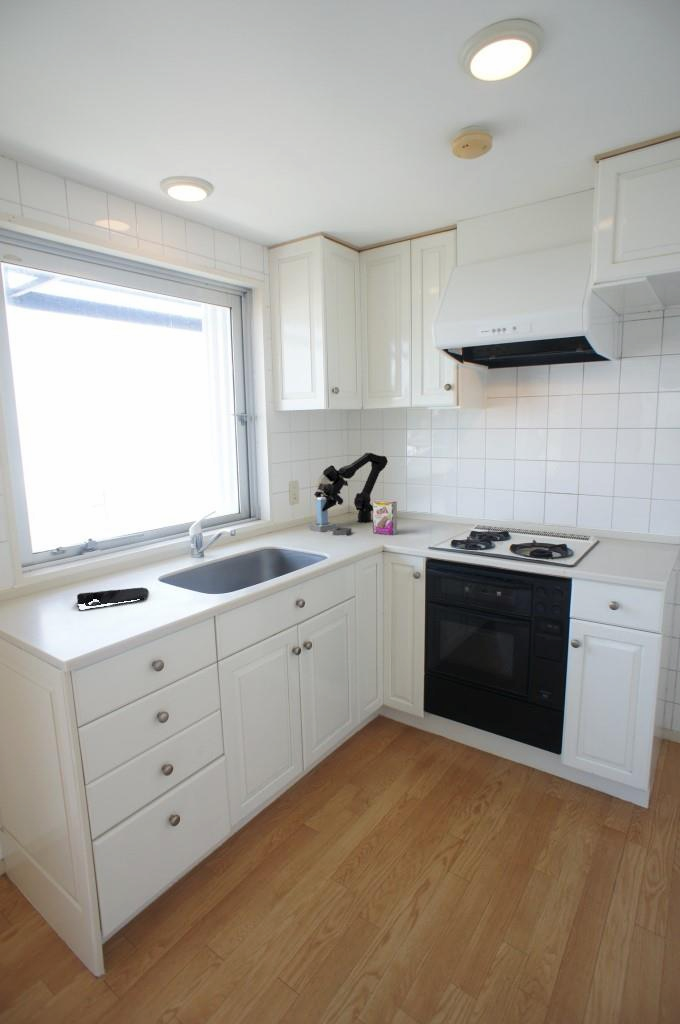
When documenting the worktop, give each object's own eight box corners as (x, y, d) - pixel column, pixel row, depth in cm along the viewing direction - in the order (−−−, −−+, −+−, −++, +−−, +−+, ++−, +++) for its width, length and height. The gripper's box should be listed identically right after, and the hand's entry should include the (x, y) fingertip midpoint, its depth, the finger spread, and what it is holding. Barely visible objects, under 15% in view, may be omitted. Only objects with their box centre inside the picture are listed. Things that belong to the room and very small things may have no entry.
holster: (338, 532, 273) (338, 527, 272) (351, 532, 270) (351, 528, 269) (332, 535, 266) (332, 530, 266) (346, 535, 263) (346, 530, 263)
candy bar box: (372, 533, 267) (372, 501, 264) (377, 531, 271) (376, 499, 268) (393, 535, 261) (392, 502, 258) (397, 533, 265) (397, 500, 262)
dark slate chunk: (148, 604, 175) (146, 590, 174) (74, 613, 168) (72, 599, 168) (150, 590, 189) (148, 577, 188) (82, 598, 183) (80, 585, 182)
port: (324, 526, 287) (324, 520, 287) (336, 529, 279) (335, 522, 279) (309, 529, 281) (309, 523, 281) (320, 532, 273) (320, 525, 273)
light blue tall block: (323, 522, 283) (322, 496, 280) (327, 523, 279) (326, 497, 277) (317, 523, 280) (316, 497, 278) (321, 524, 277) (320, 498, 275)
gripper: (316, 476, 285) (300, 499, 281) (337, 478, 271) (321, 503, 266) (328, 489, 291) (313, 512, 287) (350, 492, 277) (334, 516, 272)
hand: (319, 510), depth 278 cm, fingers closed on light blue tall block, 4 cm apart
